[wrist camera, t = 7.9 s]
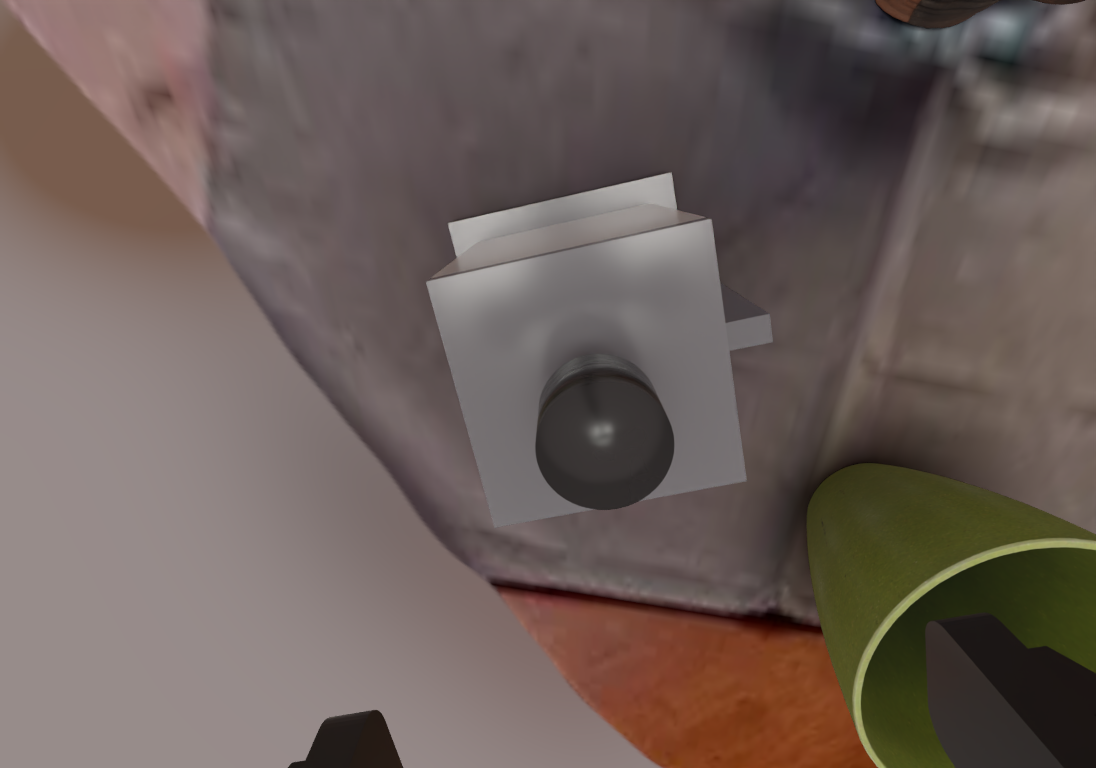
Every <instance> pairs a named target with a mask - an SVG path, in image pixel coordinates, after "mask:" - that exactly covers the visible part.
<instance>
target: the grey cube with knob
mask: <svg viewBox="0 0 1096 768" xmlns="http://www.w3.org/2000/svg"><path fill="white" fill-rule="evenodd" d="M448 226H449V230H450V234H451V238H452V242H453V245H454V249H455V253H456V257H457V258H456V259H455V260H454V261H452V262H451V263H450V264H448V265H447V266H446V267H444V268H443V269H442V270H440V271H439V272H438V273H437V274H435V275H434V276H433V277H431V278H430V279H429V280H427V281H426V284H427V287H428V291H429V294H430V298H431V302H432V305H433V309H434V312H435V316H436V320H437V323H438V327H439V330H440V334H441V338H442V341H443V345H444V348H445V352H446V355H447V359H448V363H449V366H450V370H451V373H452V377H453V381H454V384H455V388H456V391H457V395H458V399H459V402H460V406H461V409H462V413H463V416H464V420H465V424H466V427H467V431H468V434H469V438H470V442H471V445H472V449H473V452H474V456H475V460H476V463H477V467H478V470H479V474H480V478H481V481H482V485H483V488H484V492H485V495H486V499H487V503H488V506H489V510H490V513H491V517H492V521H493V524H494V528H496V527H502V526H507V525H513V524H518V523H523V522H529V521H534V520H540V519H545V518H550V517H556V516H561V515H566V514H572V513H577V512H583V511H588V510H593V509H589V508H585V507H581V506H578V505H576V504H573V503H571V502H569V501H567V500H566V499H564V498H563V497H561V496H560V495H559V494H557V493H556V492H555V491H554V490H553V489H552V488H551V487H550V486H549V485H548V483H547V482H546V480H545V479H544V477H543V475H542V473H541V471H540V469H539V466H538V463H537V459H536V453H535V442H536V431H537V419H538V408H539V400H540V396H541V393H542V391H543V388H544V386H545V384H546V383H547V381H548V380H549V378H550V377H551V376H552V374H553V373H554V372H555V371H556V370H557V369H559V368H560V367H561V366H563V365H564V364H565V363H567V362H569V361H571V360H573V359H575V358H578V357H581V356H584V355H589V354H611V355H615V356H619V357H621V358H624V359H626V360H628V361H630V362H632V363H634V364H635V365H636V366H638V367H639V368H640V369H641V370H642V371H643V372H644V373H645V374H646V375H647V377H648V378H649V379H650V381H651V383H652V384H653V386H654V388H655V391H656V393H657V395H658V397H659V399H660V401H661V404H662V406H663V408H664V410H665V412H666V414H667V417H668V419H669V421H670V424H671V426H672V430H673V434H674V443H675V444H674V455H673V460H672V463H671V466H670V469H669V471H668V473H667V475H666V476H665V478H664V479H663V481H662V482H661V483H660V484H659V486H658V487H657V488H656V489H655V490H654V491H653V492H651V493H650V494H649V495H648V496H646V497H645V498H643V499H642V500H647V499H653V498H658V497H664V496H669V495H674V494H680V493H685V492H691V491H696V490H701V489H707V488H712V487H717V486H723V485H728V484H734V483H739V482H744V481H747V480H746V472H745V465H744V457H743V450H742V442H741V435H740V427H739V420H738V413H737V405H736V398H735V390H734V383H733V375H732V368H731V360H730V353H729V351H731V350H736V349H741V348H746V347H751V346H756V345H761V344H766V343H770V342H773V339H772V330H771V322H770V314H769V313H768V312H766V311H764V310H763V309H761V308H760V307H758V306H756V305H755V304H753V303H752V302H750V301H749V300H747V299H745V298H744V297H742V296H741V295H739V294H738V293H736V292H734V291H733V290H731V289H730V288H728V287H726V286H725V285H723V284H722V283H720V278H719V271H718V263H717V256H716V248H715V241H714V233H713V226H712V219H711V218H707V217H703V216H699V215H695V214H691V213H687V212H683V211H679V210H677V206H676V200H675V193H674V186H673V179H672V173H671V172H670V173H663V174H659V175H655V176H650V177H646V178H642V179H637V180H633V181H628V182H624V183H620V184H615V185H611V186H606V187H602V188H598V189H593V190H589V191H584V192H580V193H576V194H571V195H567V196H563V197H558V198H554V199H549V200H545V201H541V202H536V203H532V204H527V205H523V206H519V207H514V208H510V209H505V210H501V211H497V212H492V213H488V214H484V215H479V216H475V217H470V218H466V219H462V220H457V221H453V222H450V223H448ZM642 500H640V501H642Z"/></svg>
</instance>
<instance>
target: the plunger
mask: <svg viewBox="0 0 1096 768" xmlns="http://www.w3.org/2000/svg"><path fill="white" fill-rule="evenodd" d="M674 444H675V443H674V434H673V430H672V426H671V424H670V421H669V419H668V417H667V414H666V412H665V410H664V408H663V406H662V404H661V401H660V399H659V397H658V395H657V393H656V391H655V388H654V386H653V384H652V383H651V381H650V379H649V378H648V377H647V375H646V374H645V373H644V372H643V371H642V370H641V369H640V368H639V367H638V366H636V365H635V364H634V363H632V362H630V361H628V360H626V359H624V358H621V357H619V356H615V355H611V354H589V355H584V356H581V357H578V358H575V359H573V360H571V361H569V362H567V363H565V364H564V365H563V366H561V367H560V368H559V369H557V370H556V371H555V372H554V373H553V374H552V376H551V377H550V378H549V380H548V381H547V383H546V384H545V386H544V388H543V391H542V393H541V396H540V400H539V408H538V419H537V431H536V442H535V453H536V459H537V463H538V466H539V469H540V471H541V473H542V475H543V477H544V479H545V480H546V482H547V483H548V485H549V486H550V487H551V488H552V489H553V490H554V491H555V492H556V493H557V494H559V495H560V496H561V497H563V498H564V499H566V500H567V501H569V502H571V503H573V504H576V505H578V506H581V507H585V508H589V509H597V510H611V509H618V508H622V507H626V506H629V505H631V504H634V503H636V502H638V501H640V500H642V499H643V498H645V497H646V496H648V495H649V494H650V493H651V492H653V491H654V490H655V489H656V488H657V487H658V486H659V484H660V483H661V482H662V481H663V479H664V478H665V476H666V475H667V473H668V471H669V469H670V466H671V463H672V460H673V455H674Z"/></svg>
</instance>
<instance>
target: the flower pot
mask: <svg viewBox="0 0 1096 768" xmlns="http://www.w3.org/2000/svg"><path fill="white" fill-rule="evenodd" d="M807 547H808V558H809V567H810V574H811V580H812V586H813V591H814V596H815V601H816V606H817V611H818V615H819V619H820V623H821V627H822V631H823V635H824V638H825V642H826V646H827V649H828V652H829V655H830V658H831V662H832V665H833V668H834V670H835V673H836V676H837V679H838V682H839V685H840V687H841V690H842V693H843V696H844V699H845V701H846V704H847V707H848V709H849V712H850V714H851V717H852V720H853V722H854V725H855V727H856V730H857V733H858V735H859V738H860V740H861V742H862V744H863V746H864V748H865V750H866V752H867V753H868V755H869V757H870V758H871V759H872V761H873V762H874V763H875V764H876V766H877V767H878V768H955V766H954V765H953V763H952V762H951V760H950V759H949V757H948V756H947V754H946V752H945V751H944V749H943V747H942V745H941V743H940V741H939V739H938V737H937V734H936V732H935V729H934V727H933V724H932V720H931V717H930V713H929V708H928V691H927V665H926V639H925V630H926V626H927V623H928V622H930V621H935V620H941V619H947V618H953V617H959V616H965V615H971V614H977V613H984V612H985V613H989V614H992V615H993V616H995V617H996V618H997V619H998V620H1000V621H1001V622H1002V623H1003V624H1004V625H1005V626H1006V627H1007V628H1008V629H1009V630H1010V631H1011V632H1012V633H1013V634H1014V635H1015V636H1016V637H1017V638H1018V639H1019V640H1020V641H1021V642H1022V643H1023V644H1024V645H1025V646H1026V647H1027V648H1028V649H1029V648H1035V647H1042V646H1048V647H1050V648H1051V649H1053V650H1055V651H1057V652H1058V653H1060V654H1062V655H1064V656H1066V657H1067V658H1069V659H1071V660H1073V661H1075V662H1076V663H1078V664H1080V665H1082V666H1084V667H1085V668H1087V669H1089V670H1091V671H1093V672H1094V673H1096V534H1094V533H1091V532H1089V531H1087V530H1085V529H1083V528H1081V527H1078V526H1076V525H1074V524H1072V523H1070V522H1068V521H1065V520H1063V519H1061V518H1058V517H1056V516H1054V515H1051V514H1049V513H1047V512H1044V511H1042V510H1039V509H1037V508H1035V507H1032V506H1030V505H1027V504H1024V503H1022V502H1019V501H1017V500H1014V499H1011V498H1008V497H1006V496H1003V495H1000V494H997V493H995V492H992V491H989V490H986V489H983V488H980V487H977V486H973V485H970V484H967V483H964V482H960V481H957V480H954V479H951V478H947V477H943V476H939V475H935V474H931V473H927V472H923V471H918V470H914V469H909V468H903V467H897V466H892V465H885V464H877V463H861V464H855V465H851V466H848V467H846V468H843V469H841V470H839V471H837V472H835V473H834V474H832V475H831V476H829V477H828V478H826V479H825V480H824V481H823V482H822V483H821V484H820V486H819V487H818V488H817V489H816V491H815V492H814V494H813V496H812V498H811V500H810V503H809V505H808V510H807Z"/></svg>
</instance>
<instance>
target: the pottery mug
mask: <svg viewBox="0 0 1096 768" xmlns="http://www.w3.org/2000/svg"><path fill="white" fill-rule="evenodd" d="M875 1H876V3H877V5H878V6H880V7H881V8H882V9H883V10H884V11H885V12H886V13H888V14H890V15H891V16H893V17H894V18H896V19H899V20H901V21H903V22H908V23H909V24H911V25H915V26H920V27H925V28H945V27H951V26H954V25H956V24H959V23H961V22H963V21H965V20H967V19H968V18H970V17H972V16H973V15H975V14H976V13H978V12H980V11H982V10H984V9H986V8H988V7H989V6H991V5H993V4H995V3H997V2H999V1H1001V0H875ZM1034 1H1038V2H1042V3H1048V4H1060V5H1064V4H1073V3H1078V2H1082V1H1085V0H1034Z"/></svg>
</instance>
